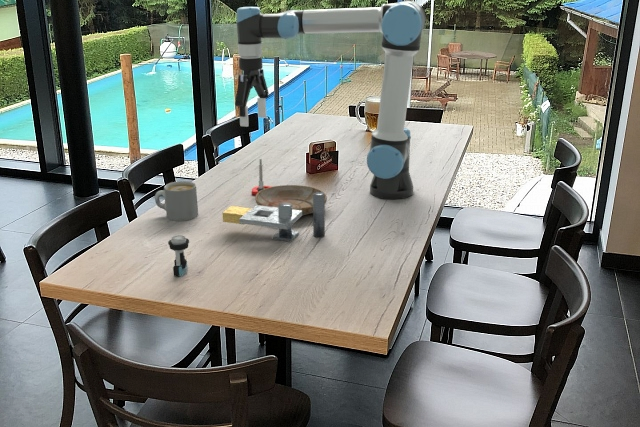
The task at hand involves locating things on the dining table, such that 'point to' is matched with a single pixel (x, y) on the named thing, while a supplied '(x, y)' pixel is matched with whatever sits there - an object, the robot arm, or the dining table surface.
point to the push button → (179, 254)
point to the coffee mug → (179, 200)
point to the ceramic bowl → (288, 197)
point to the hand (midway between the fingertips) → (253, 121)
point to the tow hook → (260, 187)
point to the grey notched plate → (267, 218)
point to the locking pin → (318, 214)
